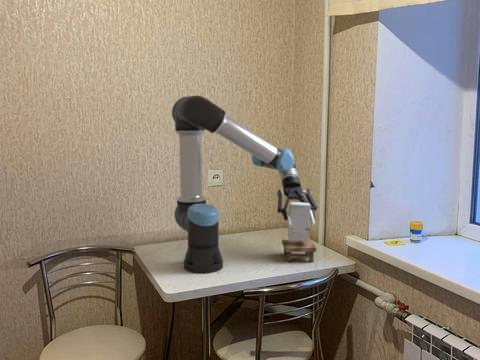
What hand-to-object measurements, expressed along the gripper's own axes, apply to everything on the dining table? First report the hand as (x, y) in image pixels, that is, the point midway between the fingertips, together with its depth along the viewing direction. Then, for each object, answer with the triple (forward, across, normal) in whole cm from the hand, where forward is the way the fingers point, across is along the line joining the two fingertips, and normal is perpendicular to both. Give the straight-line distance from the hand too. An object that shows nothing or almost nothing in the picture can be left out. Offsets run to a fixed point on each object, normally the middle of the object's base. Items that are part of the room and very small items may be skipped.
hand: (301, 225), depth 173 cm
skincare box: (+2, 0, -7) cm, 7 cm away
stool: (+8, 0, -12) cm, 15 cm away
